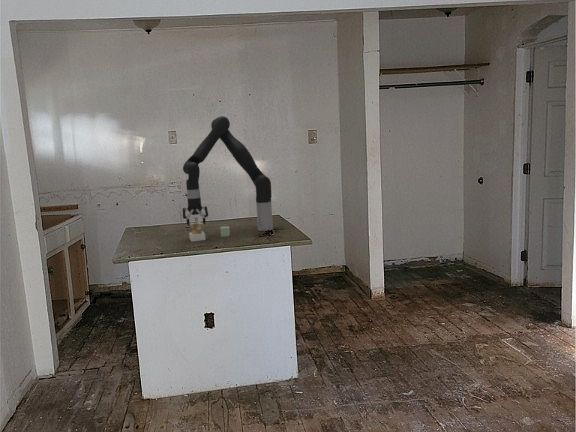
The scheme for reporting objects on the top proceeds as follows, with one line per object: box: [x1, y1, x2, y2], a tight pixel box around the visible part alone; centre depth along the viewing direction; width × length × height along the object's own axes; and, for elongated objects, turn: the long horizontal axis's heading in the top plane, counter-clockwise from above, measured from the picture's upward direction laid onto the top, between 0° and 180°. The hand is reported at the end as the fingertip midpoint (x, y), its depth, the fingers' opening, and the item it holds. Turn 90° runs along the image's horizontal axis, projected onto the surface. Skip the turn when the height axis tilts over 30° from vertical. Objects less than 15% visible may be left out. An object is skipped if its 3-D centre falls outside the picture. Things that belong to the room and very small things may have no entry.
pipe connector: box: [189, 215, 206, 227], centre depth 317 cm, size 10×10×10 cm
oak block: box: [190, 222, 202, 234], centre depth 298 cm, size 5×5×5 cm
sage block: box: [220, 225, 231, 238], centre depth 304 cm, size 5×5×5 cm
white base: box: [188, 230, 206, 242], centre depth 298 cm, size 8×8×4 cm
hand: (196, 224), depth 297 cm, fingers open, 8 cm apart
